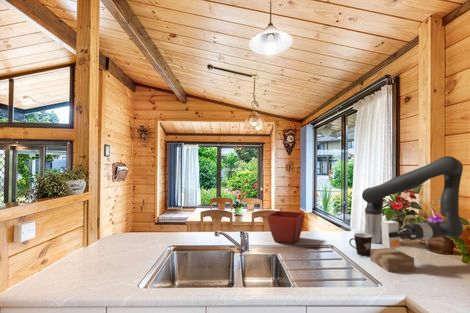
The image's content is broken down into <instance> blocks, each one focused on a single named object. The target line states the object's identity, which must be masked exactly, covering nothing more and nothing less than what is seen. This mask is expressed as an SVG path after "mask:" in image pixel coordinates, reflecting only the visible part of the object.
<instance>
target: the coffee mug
mask: <svg viewBox="0 0 470 313" xmlns="http://www.w3.org/2000/svg"><path fill="white" fill-rule="evenodd" d="M353 236H354V237H353V238H350V239H349V241H348V243H349V245H350V246H351V247H352V248H354V249H355V250H356V254H357V255H358V256H361V257H362V256H363V257H371V254H370V249H372V243H371V241H372V235H369V234H365V232H364V233H363V232H357V233H354V234H353ZM353 240H354V242H355V246H354V245H353V244H352V242H351V241H353Z"/></svg>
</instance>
